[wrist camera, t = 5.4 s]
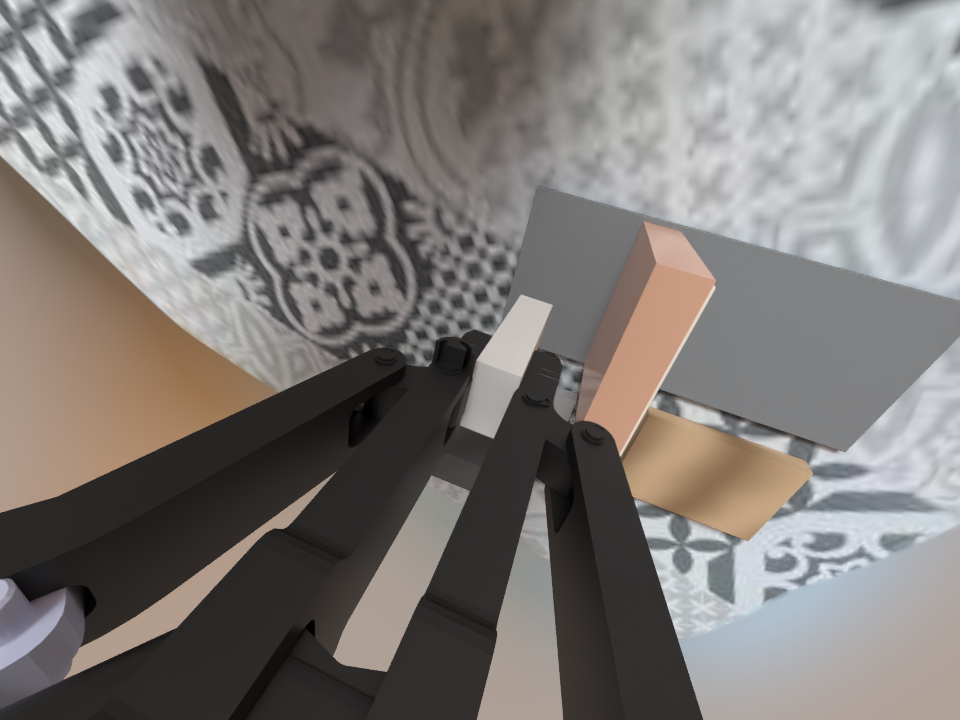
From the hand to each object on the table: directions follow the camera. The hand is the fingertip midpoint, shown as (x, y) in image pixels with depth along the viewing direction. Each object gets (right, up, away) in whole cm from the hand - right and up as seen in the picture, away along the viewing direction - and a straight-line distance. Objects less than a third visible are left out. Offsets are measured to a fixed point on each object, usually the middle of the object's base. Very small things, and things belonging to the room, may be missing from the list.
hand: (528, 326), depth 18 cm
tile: (+7, +2, +5) cm, 8 cm away
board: (+13, -9, +9) cm, 18 cm away
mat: (+10, +1, +5) cm, 11 cm away
